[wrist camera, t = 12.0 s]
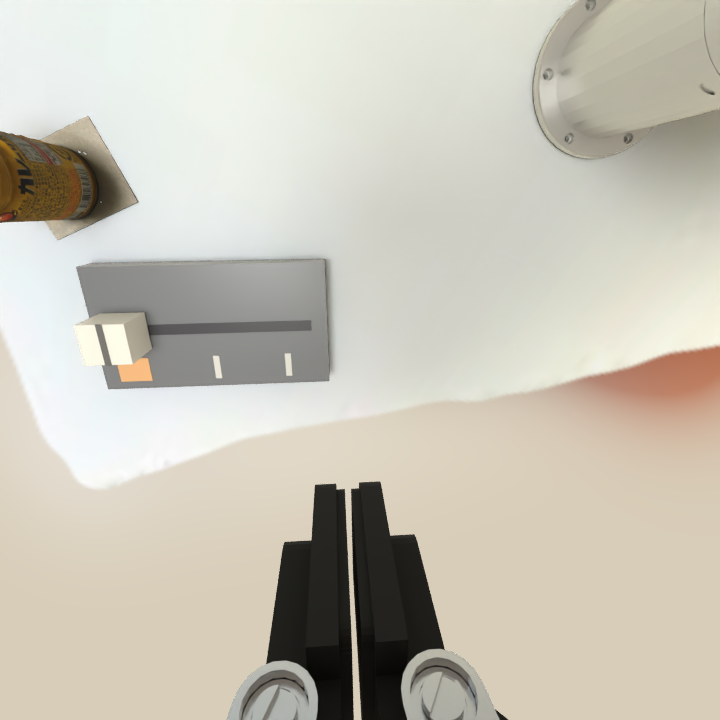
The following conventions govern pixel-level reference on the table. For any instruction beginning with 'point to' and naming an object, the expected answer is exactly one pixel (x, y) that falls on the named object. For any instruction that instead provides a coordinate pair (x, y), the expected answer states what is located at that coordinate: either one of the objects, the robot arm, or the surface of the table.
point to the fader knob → (113, 338)
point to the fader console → (217, 320)
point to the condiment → (60, 179)
